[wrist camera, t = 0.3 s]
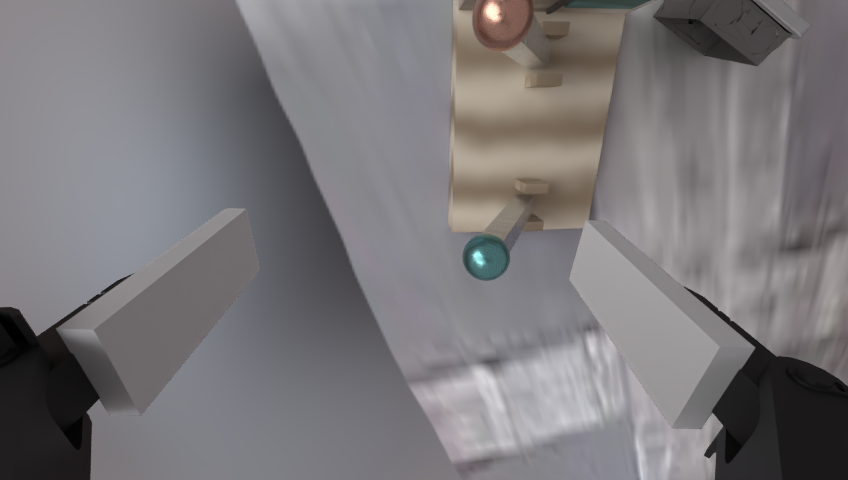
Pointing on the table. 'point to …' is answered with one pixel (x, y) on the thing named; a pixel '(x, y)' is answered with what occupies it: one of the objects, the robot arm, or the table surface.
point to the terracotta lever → (512, 31)
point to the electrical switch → (733, 26)
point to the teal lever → (497, 240)
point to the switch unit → (532, 116)
